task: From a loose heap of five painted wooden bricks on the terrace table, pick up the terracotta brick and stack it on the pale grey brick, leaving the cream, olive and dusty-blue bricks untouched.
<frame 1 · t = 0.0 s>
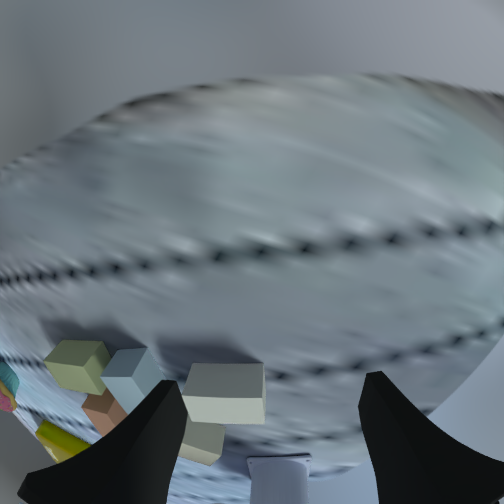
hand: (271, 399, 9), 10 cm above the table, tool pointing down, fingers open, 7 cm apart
grey brick: (230, 377, 22), on the table
element tile: (82, 450, 34), on the table
blue brick: (147, 372, 23), on the table
cupcake: (11, 372, 28), on the table
cream brick: (194, 424, 25), on the table
olive brick: (89, 353, 23), on the table
terracotta brick: (118, 403, 25), on the table
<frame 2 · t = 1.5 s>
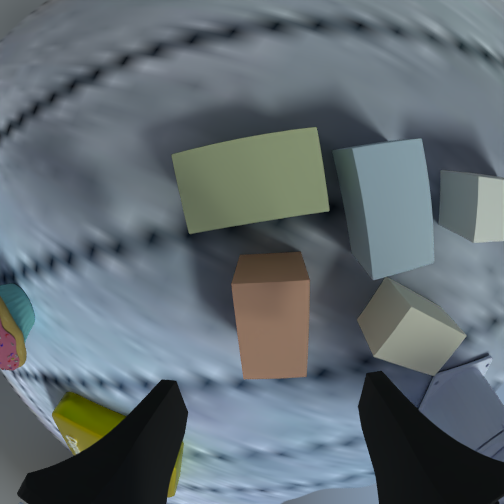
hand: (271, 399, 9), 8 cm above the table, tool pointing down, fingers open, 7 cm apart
grey brick: (470, 198, 14), on the table
element tile: (126, 439, 26), on the table
blue brick: (370, 196, 15), on the table
cupcake: (22, 304, 19), on the table
cream brick: (401, 312, 17), on the table
olive brick: (255, 174, 15), on the table
terracotta brick: (272, 298, 17), on the table
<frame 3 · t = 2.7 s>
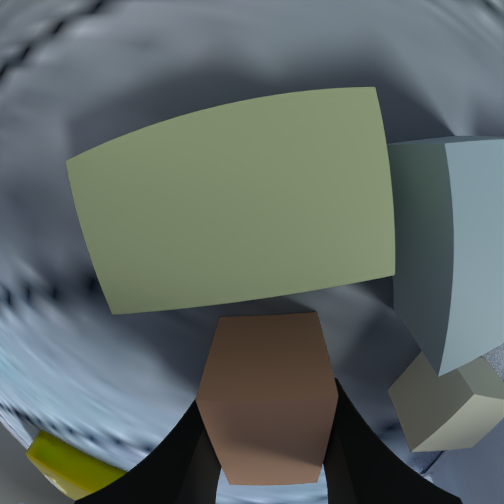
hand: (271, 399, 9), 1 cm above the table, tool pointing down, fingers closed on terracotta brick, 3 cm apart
element tile: (109, 477, 20), on the table
blue brick: (428, 223, 8), on the table
cream brick: (442, 373, 11), on the table
olive brick: (242, 185, 8), on the table
terracotta brick: (271, 374, 11), on the table, touching gripper
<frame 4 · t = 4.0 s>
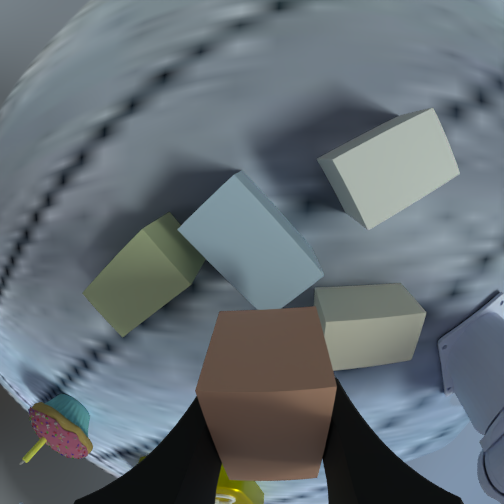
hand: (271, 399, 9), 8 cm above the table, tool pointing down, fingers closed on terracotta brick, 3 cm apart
grey brick: (373, 162, 14), on the table
element tile: (205, 478, 29), on the table
blue brick: (255, 229, 16), on the table
cupcake: (75, 406, 24), on the table
cream brick: (356, 308, 17), on the table
olive brick: (156, 261, 17), on the table
terracotta brick: (271, 369, 11), point 7 cm above the table, touching gripper
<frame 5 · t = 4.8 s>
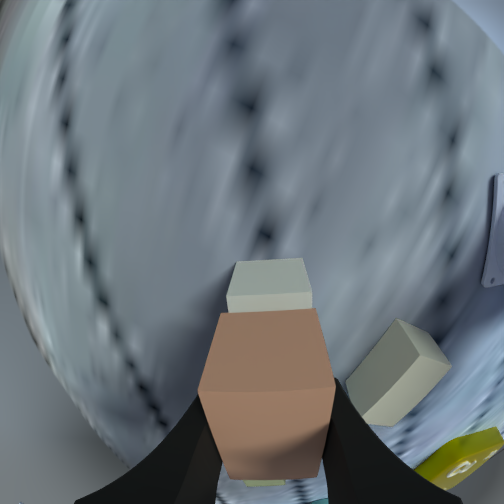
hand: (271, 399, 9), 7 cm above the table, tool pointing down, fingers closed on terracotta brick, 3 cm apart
grey brick: (272, 307, 16), on the table
element tile: (446, 457, 25), on the table
cupcake: (324, 500, 28), on the table
cream brick: (387, 357, 17), on the table
terracotta brick: (271, 370, 11), point 5 cm above the table, touching gripper
when the fingers open (6 cm above the table, at t = 5.2 s): terracotta brick stays where it is, resting on grey brick.
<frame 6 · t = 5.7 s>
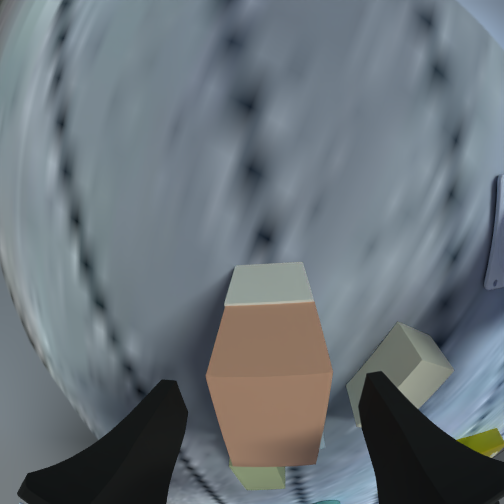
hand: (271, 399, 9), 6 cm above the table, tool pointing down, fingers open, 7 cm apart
grey brick: (271, 312, 15), on the table, touching terracotta brick
element tile: (447, 459, 25), on the table
cupcake: (324, 502, 27), on the table
cream brick: (388, 360, 16), on the table
olive brick: (261, 443, 20), on the table
terracotta brick: (272, 361, 12), point 4 cm above the table, touching grey brick
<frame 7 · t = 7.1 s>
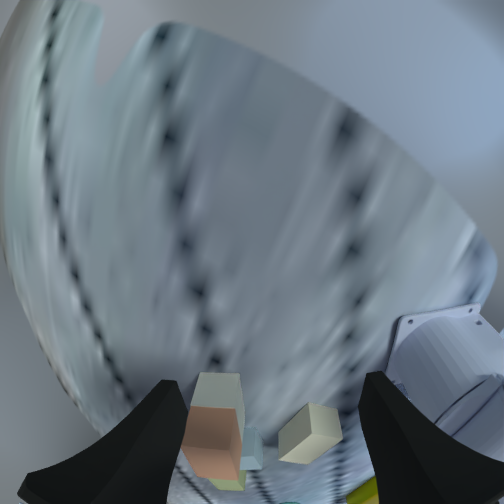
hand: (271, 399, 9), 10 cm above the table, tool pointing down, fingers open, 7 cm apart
grey brick: (224, 394, 23), on the table, touching terracotta brick
element tile: (393, 478, 33), on the table
blue brick: (233, 436, 26), on the table
cream brick: (306, 420, 24), on the table
olive brick: (228, 458, 28), on the table
terracotta brick: (218, 427, 20), point 4 cm above the table, touching grey brick
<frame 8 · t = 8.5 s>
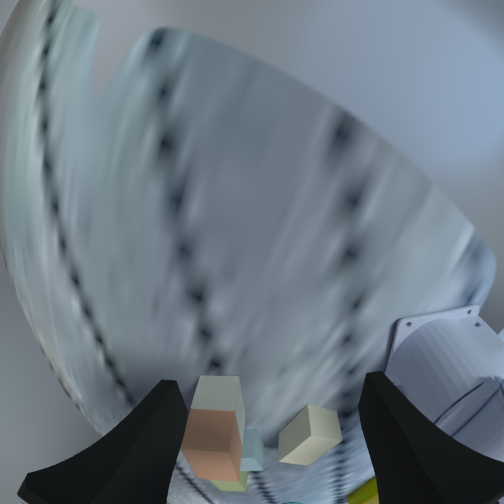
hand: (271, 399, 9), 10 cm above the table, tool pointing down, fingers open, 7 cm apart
grey brick: (224, 397, 24), on the table, touching terracotta brick
element tile: (394, 478, 33), on the table
blue brick: (234, 437, 26), on the table
cream brick: (306, 422, 25), on the table
olive brick: (229, 460, 28), on the table
terracotta brick: (218, 429, 20), point 4 cm above the table, touching grey brick
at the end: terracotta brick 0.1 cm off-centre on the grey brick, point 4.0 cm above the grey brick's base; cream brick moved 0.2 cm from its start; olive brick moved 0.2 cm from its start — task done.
